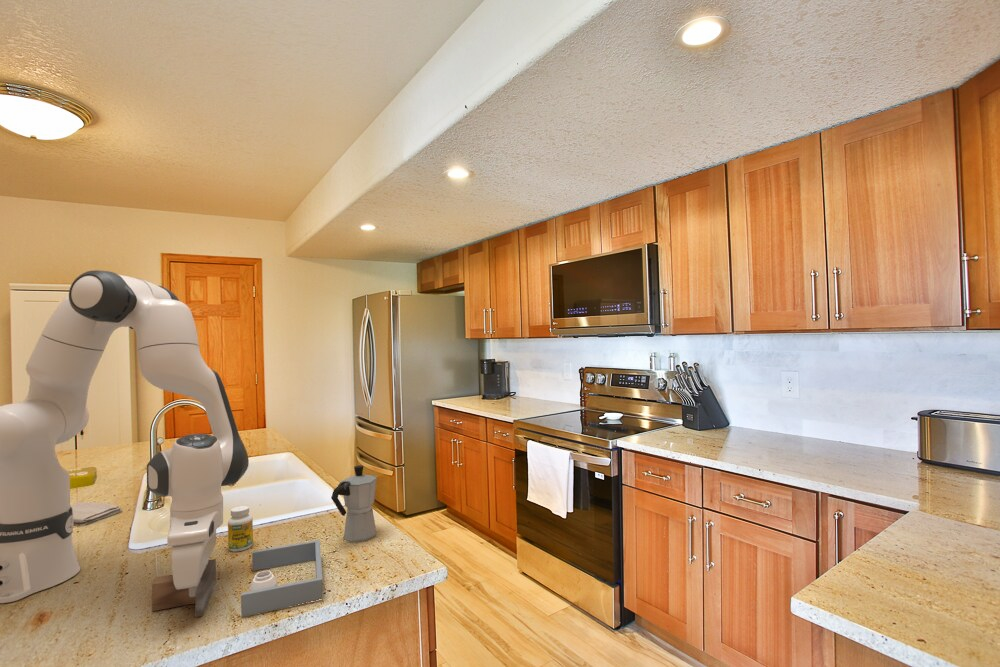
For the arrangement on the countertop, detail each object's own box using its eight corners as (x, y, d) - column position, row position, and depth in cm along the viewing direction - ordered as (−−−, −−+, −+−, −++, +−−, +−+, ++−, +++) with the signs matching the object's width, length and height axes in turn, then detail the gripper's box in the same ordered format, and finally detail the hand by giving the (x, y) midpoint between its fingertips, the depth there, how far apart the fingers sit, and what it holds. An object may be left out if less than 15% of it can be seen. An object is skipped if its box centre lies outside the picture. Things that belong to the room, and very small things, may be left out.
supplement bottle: (251, 540, 120) (251, 503, 121) (254, 548, 116) (253, 509, 116) (227, 546, 118) (226, 507, 118) (229, 554, 113) (228, 514, 113)
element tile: (97, 477, 184) (96, 464, 184) (94, 486, 172) (93, 473, 172) (43, 485, 175) (43, 472, 175) (36, 495, 163) (36, 481, 163)
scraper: (142, 627, 84) (142, 599, 84) (163, 589, 97) (164, 564, 97) (203, 615, 87) (203, 588, 87) (215, 580, 100) (215, 556, 100)
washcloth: (85, 528, 132) (85, 517, 132) (32, 525, 135) (32, 514, 135) (125, 513, 144) (125, 502, 144) (76, 510, 147) (76, 500, 147)
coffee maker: (366, 524, 130) (365, 458, 130) (390, 530, 126) (388, 462, 126) (321, 544, 117) (319, 472, 117) (345, 552, 113) (344, 476, 113)
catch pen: (241, 617, 87) (240, 595, 87) (252, 569, 105) (252, 551, 105) (322, 600, 92) (322, 579, 92) (320, 557, 111) (319, 539, 111)
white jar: (244, 592, 96) (261, 597, 94) (243, 577, 96) (261, 582, 94) (265, 580, 101) (282, 584, 99) (265, 566, 101) (282, 570, 99)
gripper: (190, 504, 102) (190, 569, 101) (164, 541, 83) (164, 621, 83) (223, 500, 104) (224, 563, 104) (206, 535, 85) (206, 612, 85)
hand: (197, 589), depth 93 cm, fingers closed on scraper, 3 cm apart
